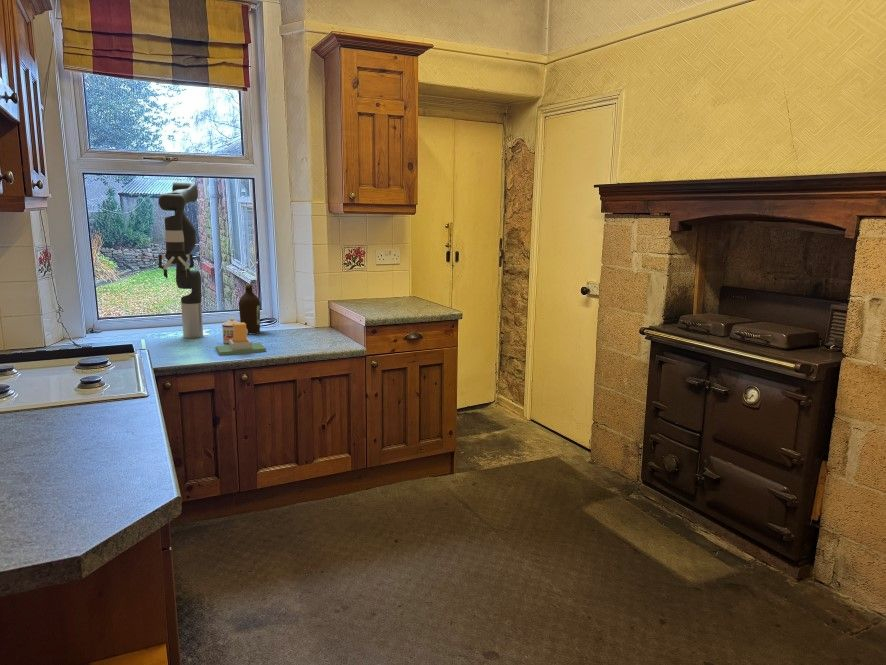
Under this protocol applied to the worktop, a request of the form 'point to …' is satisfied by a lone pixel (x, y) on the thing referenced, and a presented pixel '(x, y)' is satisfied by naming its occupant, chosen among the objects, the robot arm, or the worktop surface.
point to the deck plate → (240, 348)
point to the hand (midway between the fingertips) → (177, 277)
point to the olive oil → (250, 310)
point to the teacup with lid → (229, 330)
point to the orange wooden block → (239, 332)
